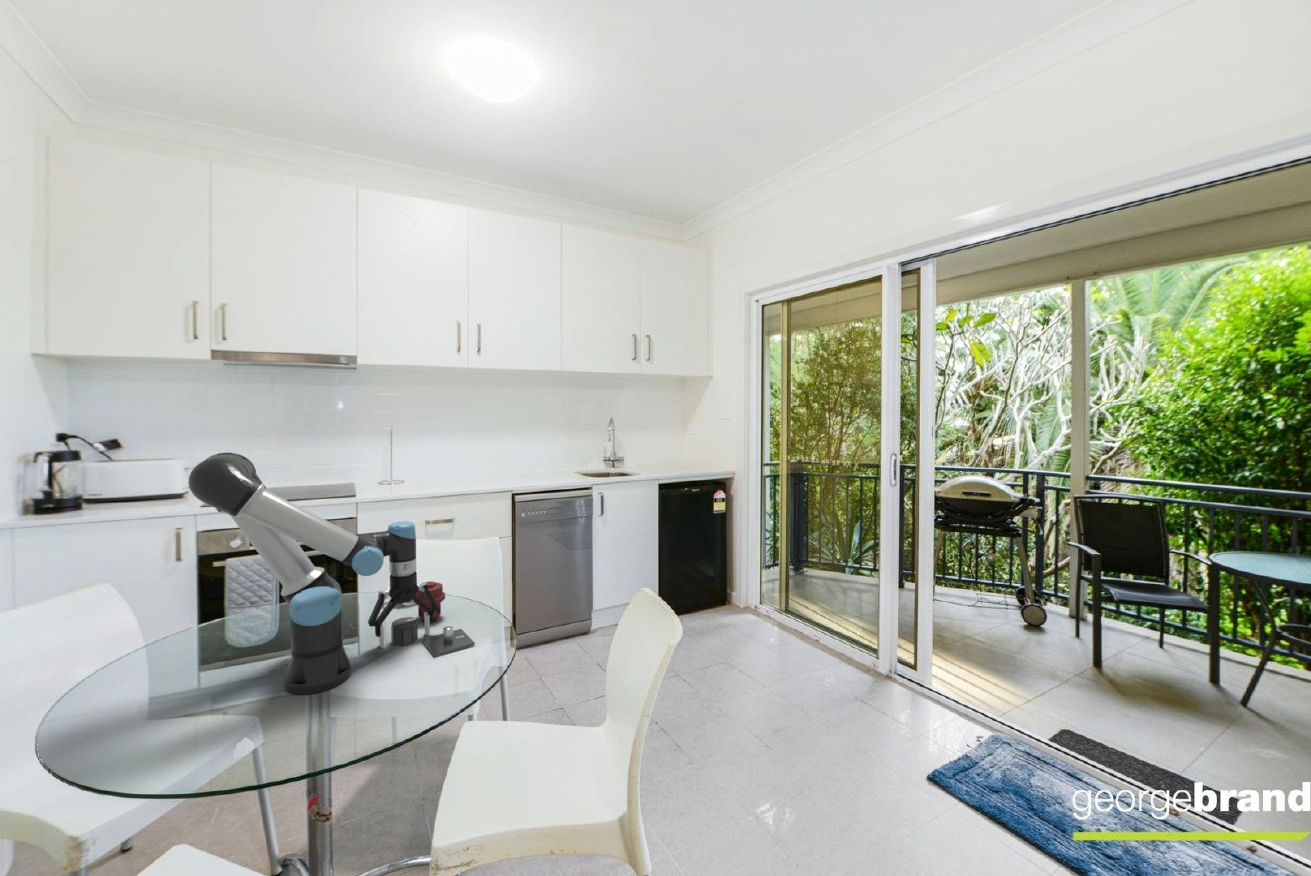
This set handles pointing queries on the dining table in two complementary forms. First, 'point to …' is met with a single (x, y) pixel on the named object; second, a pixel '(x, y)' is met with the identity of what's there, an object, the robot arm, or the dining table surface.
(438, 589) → the mechanical component
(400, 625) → the knob
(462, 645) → the metal plate
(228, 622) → the dining table surface
